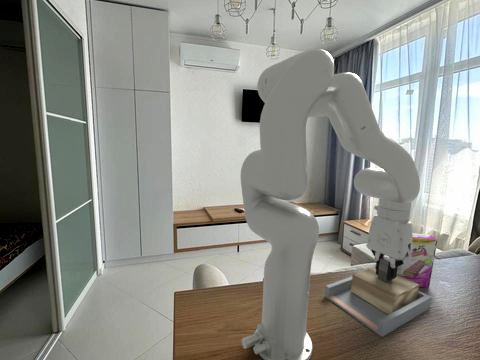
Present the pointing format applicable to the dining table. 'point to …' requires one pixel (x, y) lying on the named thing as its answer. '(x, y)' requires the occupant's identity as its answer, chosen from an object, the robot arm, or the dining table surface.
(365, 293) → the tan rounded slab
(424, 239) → the candy bar box
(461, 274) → the dining table surface
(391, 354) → the dining table surface
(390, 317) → the bay
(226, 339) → the dining table surface
